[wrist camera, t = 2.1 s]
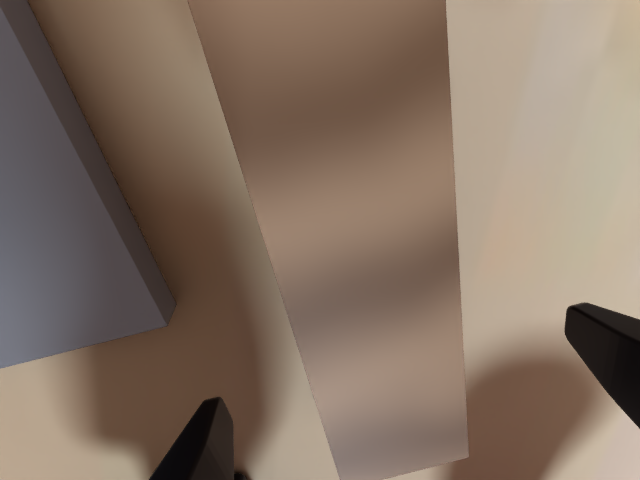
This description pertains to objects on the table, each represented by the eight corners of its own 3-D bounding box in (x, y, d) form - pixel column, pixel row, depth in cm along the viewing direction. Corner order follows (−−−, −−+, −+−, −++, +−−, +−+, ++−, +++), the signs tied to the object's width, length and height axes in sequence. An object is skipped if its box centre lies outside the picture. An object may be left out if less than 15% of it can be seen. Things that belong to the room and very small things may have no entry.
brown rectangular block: (424, 369, 20) (468, 457, 15) (327, 394, 20) (343, 489, 15) (378, -20, 12) (442, -76, 7) (217, 18, 12) (182, -15, 7)
